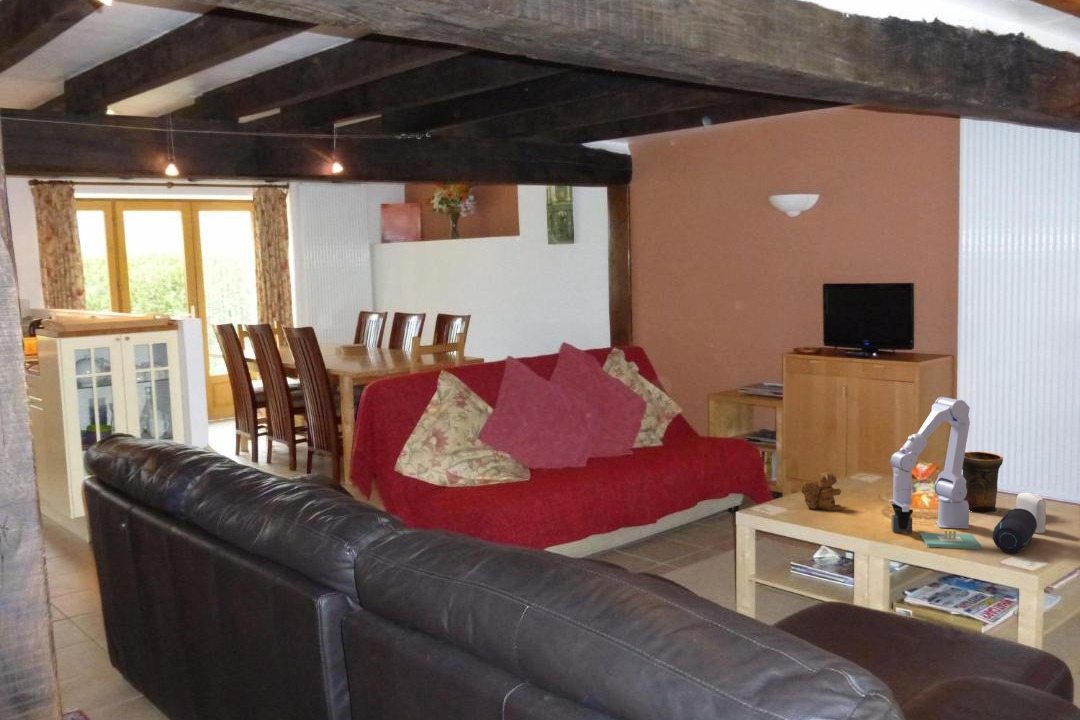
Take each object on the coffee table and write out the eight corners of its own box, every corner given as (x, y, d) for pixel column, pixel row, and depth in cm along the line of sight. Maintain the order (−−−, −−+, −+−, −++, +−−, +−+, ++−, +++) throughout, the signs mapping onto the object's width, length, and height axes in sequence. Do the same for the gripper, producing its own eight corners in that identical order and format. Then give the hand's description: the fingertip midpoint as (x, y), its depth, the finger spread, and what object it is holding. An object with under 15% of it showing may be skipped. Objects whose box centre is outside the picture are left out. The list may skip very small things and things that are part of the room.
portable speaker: (1004, 533, 314) (1005, 503, 313) (1038, 537, 308) (1039, 507, 307) (989, 553, 294) (990, 521, 293) (1025, 558, 288) (1026, 526, 287)
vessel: (990, 502, 350) (992, 450, 348) (1008, 514, 336) (1010, 459, 333) (951, 503, 351) (952, 451, 348) (967, 515, 336) (969, 460, 334)
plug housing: (909, 529, 319) (910, 515, 319) (912, 533, 316) (912, 518, 315) (891, 529, 321) (891, 514, 320) (893, 532, 317) (893, 518, 316)
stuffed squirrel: (844, 510, 345) (844, 475, 344) (806, 511, 345) (806, 476, 344) (835, 503, 355) (836, 469, 354) (798, 504, 355) (798, 470, 354)
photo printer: (1013, 526, 321) (1014, 490, 320) (1024, 524, 322) (1025, 489, 321) (1036, 534, 311) (1037, 497, 310) (1047, 533, 312) (1048, 496, 311)
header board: (971, 537, 309) (972, 526, 309) (981, 549, 297) (981, 537, 297) (920, 536, 312) (920, 525, 312) (927, 547, 301) (927, 535, 300)
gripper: (886, 482, 324) (885, 520, 326) (893, 492, 310) (892, 532, 312) (908, 482, 323) (907, 521, 324) (916, 493, 309) (915, 533, 310)
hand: (901, 527), depth 318 cm, fingers closed on plug housing, 4 cm apart
